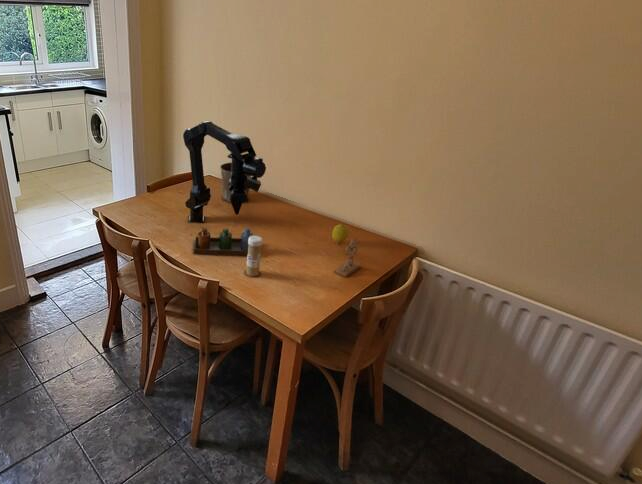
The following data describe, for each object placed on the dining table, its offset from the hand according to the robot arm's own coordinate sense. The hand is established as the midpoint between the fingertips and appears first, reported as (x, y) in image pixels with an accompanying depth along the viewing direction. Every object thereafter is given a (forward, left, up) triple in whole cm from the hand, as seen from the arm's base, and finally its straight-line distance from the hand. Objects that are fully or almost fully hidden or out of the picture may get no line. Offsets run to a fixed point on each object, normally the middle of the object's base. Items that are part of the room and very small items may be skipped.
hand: (236, 209), depth 159 cm
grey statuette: (+22, +38, -12) cm, 45 cm away
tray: (+10, -4, -12) cm, 16 cm away
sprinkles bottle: (+27, +5, -12) cm, 30 cm away
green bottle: (+10, -4, -11) cm, 16 cm away
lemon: (+2, +40, -12) cm, 42 cm away
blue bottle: (+10, +4, -11) cm, 16 cm away
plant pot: (-42, +2, -12) cm, 44 cm away
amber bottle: (+10, -12, -11) cm, 19 cm away
